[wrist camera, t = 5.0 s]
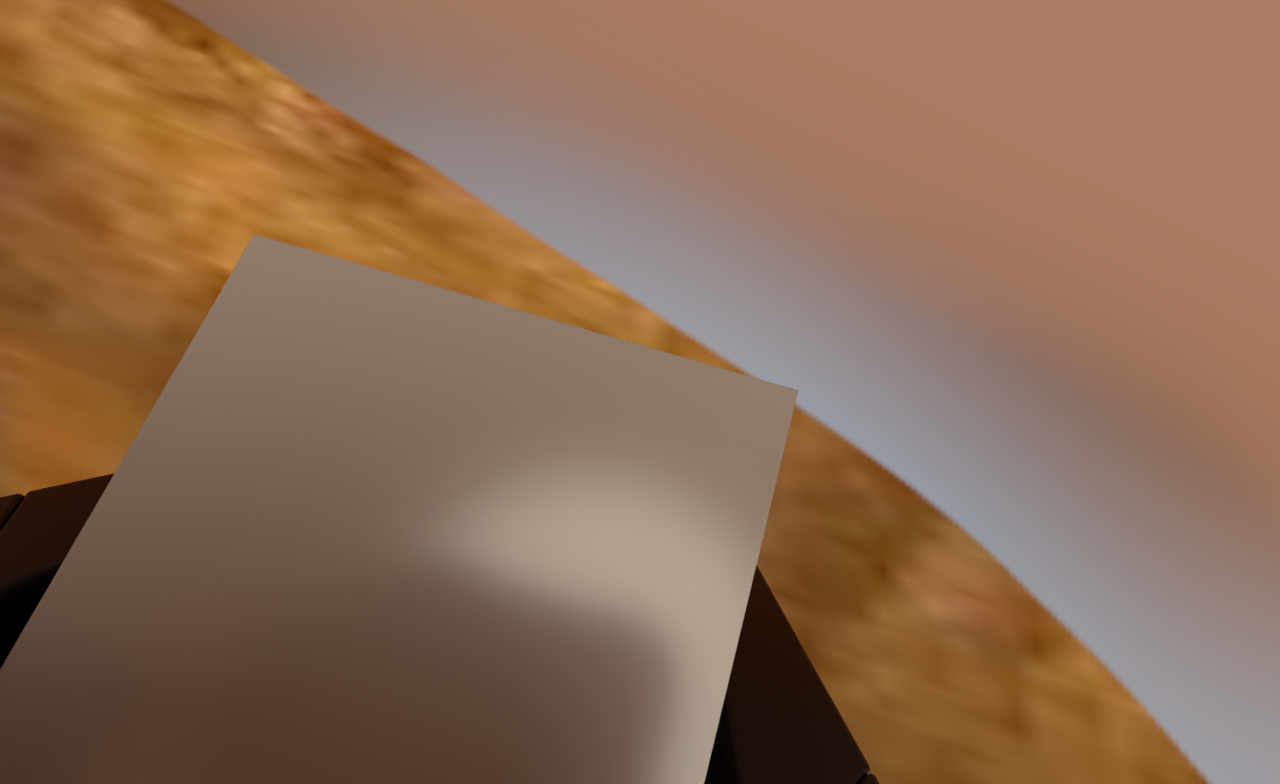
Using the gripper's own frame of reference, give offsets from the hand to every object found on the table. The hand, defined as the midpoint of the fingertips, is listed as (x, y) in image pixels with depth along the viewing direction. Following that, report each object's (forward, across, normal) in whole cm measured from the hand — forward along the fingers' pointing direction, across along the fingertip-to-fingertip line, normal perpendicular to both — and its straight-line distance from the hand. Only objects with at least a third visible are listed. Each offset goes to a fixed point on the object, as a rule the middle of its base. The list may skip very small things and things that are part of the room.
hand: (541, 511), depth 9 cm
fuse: (+4, 0, +6) cm, 7 cm away
